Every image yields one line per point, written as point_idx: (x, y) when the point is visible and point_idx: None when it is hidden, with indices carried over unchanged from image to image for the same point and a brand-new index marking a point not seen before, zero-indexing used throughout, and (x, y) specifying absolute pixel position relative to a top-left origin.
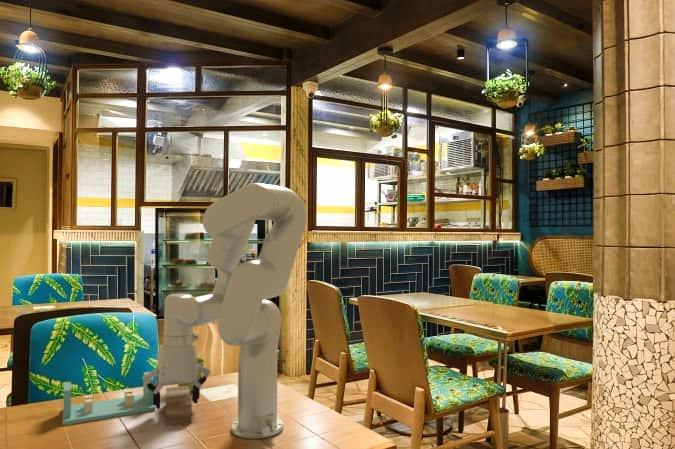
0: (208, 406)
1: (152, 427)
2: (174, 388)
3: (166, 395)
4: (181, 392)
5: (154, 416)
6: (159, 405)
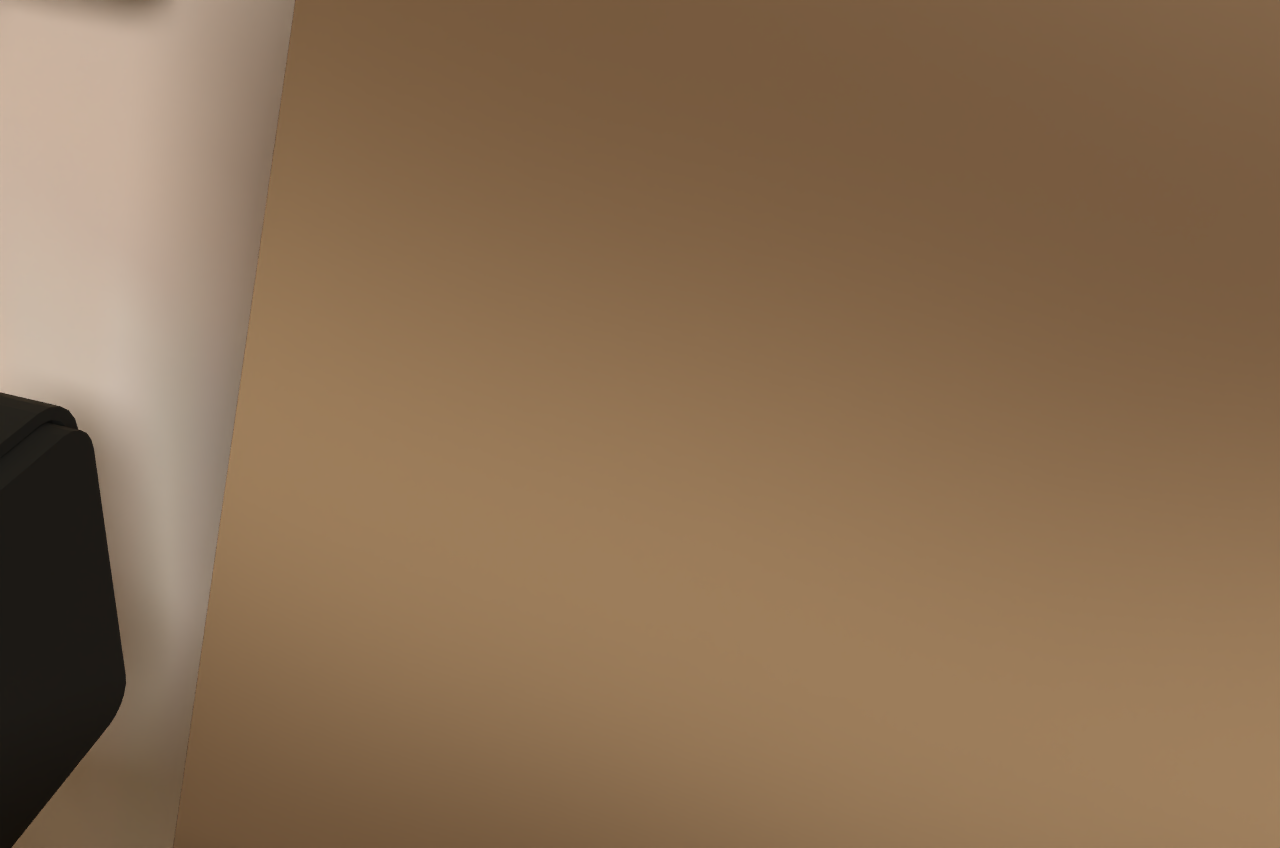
0: None
1: (88, 838)
2: None
3: (231, 588)
4: (920, 836)
5: (156, 373)
6: (58, 759)
